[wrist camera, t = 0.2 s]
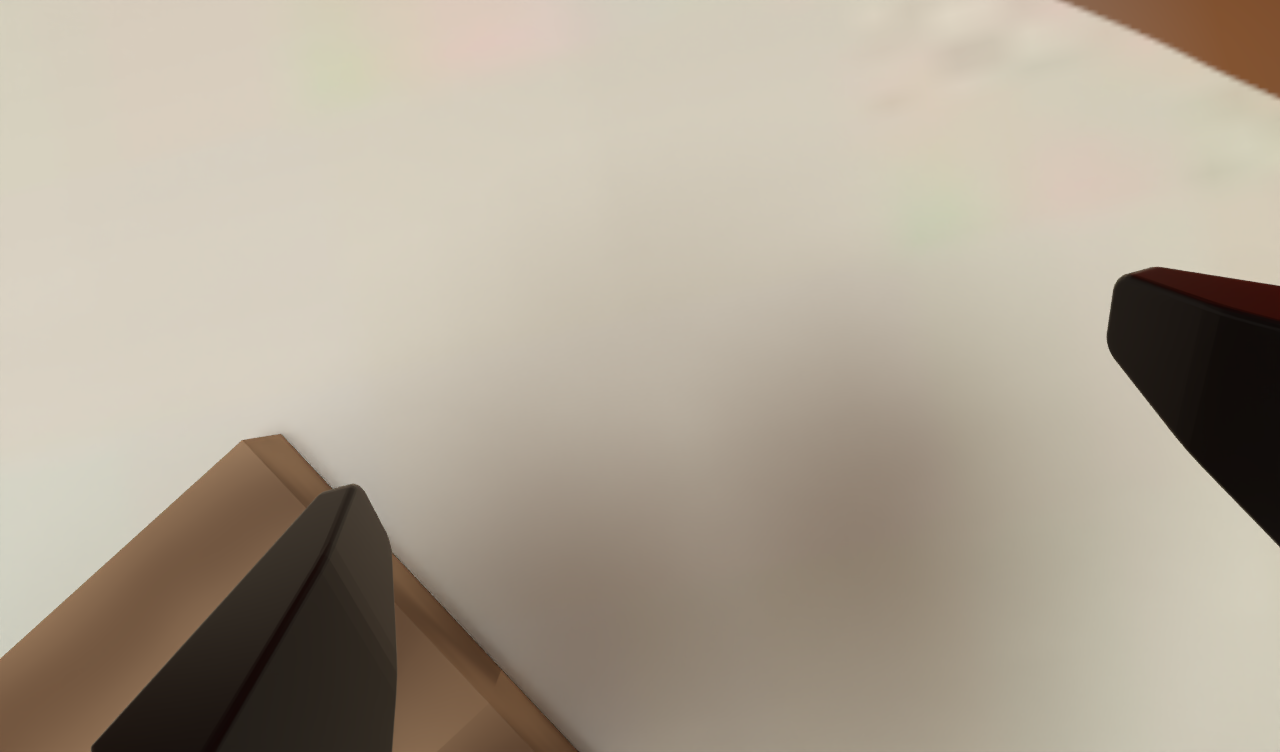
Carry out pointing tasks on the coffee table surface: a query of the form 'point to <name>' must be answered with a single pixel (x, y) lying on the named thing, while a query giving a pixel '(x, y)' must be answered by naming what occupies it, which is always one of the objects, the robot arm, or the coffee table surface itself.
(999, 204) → the coffee table surface
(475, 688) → the brown wooden frame
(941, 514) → the coffee table surface
